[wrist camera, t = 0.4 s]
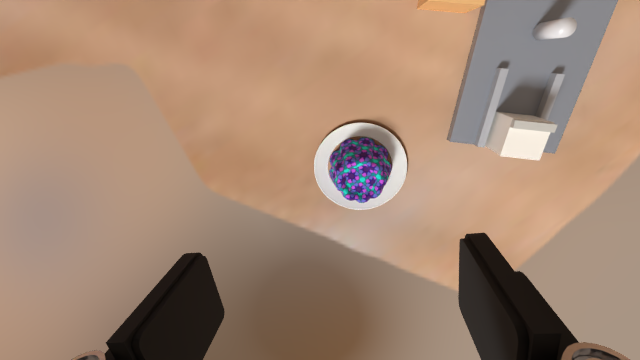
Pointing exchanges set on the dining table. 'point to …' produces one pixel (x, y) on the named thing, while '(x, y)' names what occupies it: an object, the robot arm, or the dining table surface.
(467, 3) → the orange hollow cube
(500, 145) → the cream square block
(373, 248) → the dining table surface
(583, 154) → the dining table surface
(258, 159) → the dining table surface
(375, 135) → the pudding
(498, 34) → the base
